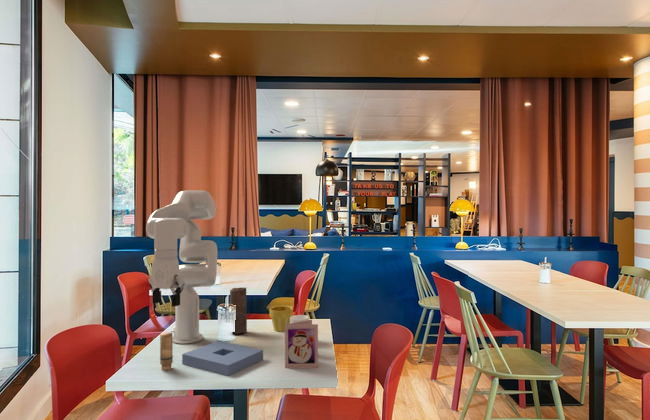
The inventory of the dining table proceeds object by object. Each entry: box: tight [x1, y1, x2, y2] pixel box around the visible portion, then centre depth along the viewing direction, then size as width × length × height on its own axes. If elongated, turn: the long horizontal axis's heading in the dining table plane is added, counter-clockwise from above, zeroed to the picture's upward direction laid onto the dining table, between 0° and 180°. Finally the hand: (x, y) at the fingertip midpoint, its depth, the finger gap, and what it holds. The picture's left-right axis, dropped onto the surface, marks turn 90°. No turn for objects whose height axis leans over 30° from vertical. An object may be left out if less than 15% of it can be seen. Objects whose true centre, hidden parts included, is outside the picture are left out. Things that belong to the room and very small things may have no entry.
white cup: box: [290, 314, 310, 324], centre depth 184 cm, size 8×8×10 cm
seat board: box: [181, 340, 264, 377], centre depth 160 cm, size 22×18×4 cm
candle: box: [229, 287, 248, 334], centre depth 196 cm, size 8×7×20 cm
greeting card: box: [284, 319, 319, 369], centre depth 156 cm, size 11×7×15 cm, turn 91°
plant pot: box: [269, 305, 294, 333], centre depth 201 cm, size 10×10×10 cm
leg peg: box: [159, 331, 174, 371], centre depth 153 cm, size 4×4×12 cm
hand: (166, 304), depth 153 cm, fingers open, 9 cm apart
